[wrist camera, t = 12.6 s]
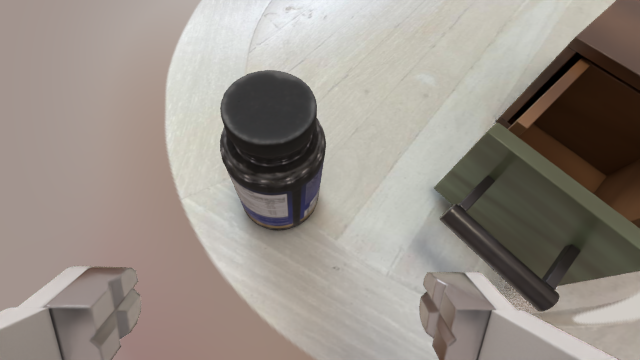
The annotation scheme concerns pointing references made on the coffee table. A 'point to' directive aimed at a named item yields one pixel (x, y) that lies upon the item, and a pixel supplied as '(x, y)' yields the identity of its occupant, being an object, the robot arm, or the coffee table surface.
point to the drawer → (555, 188)
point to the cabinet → (591, 54)
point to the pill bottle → (273, 147)
